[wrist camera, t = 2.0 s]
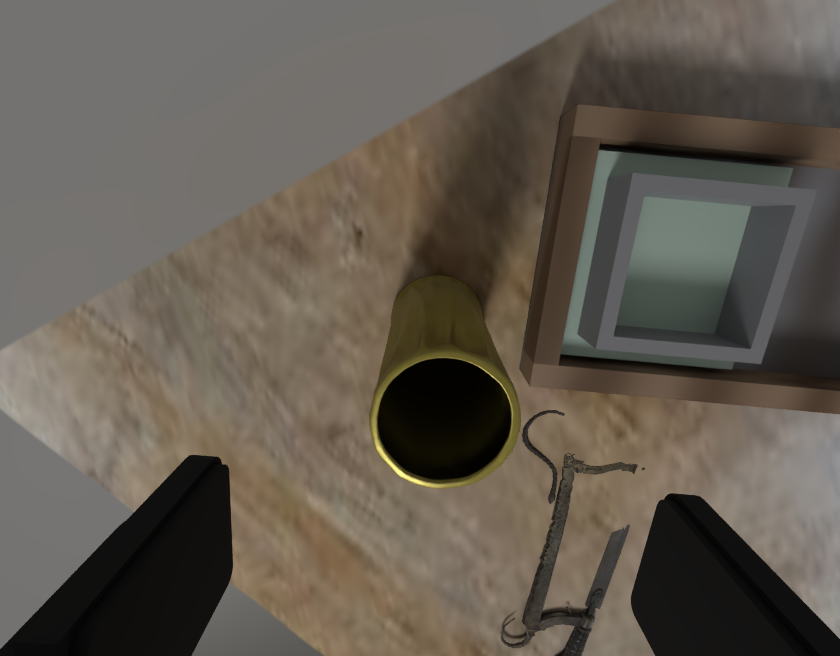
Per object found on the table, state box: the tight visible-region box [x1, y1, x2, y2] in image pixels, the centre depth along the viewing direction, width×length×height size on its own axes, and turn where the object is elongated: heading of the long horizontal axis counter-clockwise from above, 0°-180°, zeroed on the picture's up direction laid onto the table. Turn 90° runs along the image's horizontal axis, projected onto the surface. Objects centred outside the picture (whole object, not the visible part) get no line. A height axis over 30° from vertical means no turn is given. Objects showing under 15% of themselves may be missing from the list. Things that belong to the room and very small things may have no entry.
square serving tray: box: [560, 150, 817, 370], centre depth 24 cm, size 11×12×4 cm
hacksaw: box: [501, 410, 645, 656], centre depth 32 cm, size 24×10×2 cm, turn 169°
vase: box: [369, 275, 521, 489], centre depth 21 cm, size 6×6×14 cm
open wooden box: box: [520, 104, 840, 414], centre depth 25 cm, size 23×16×3 cm
